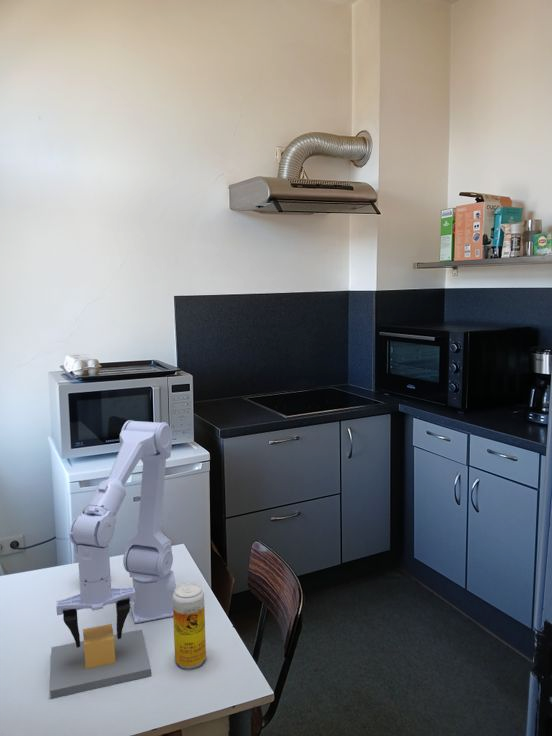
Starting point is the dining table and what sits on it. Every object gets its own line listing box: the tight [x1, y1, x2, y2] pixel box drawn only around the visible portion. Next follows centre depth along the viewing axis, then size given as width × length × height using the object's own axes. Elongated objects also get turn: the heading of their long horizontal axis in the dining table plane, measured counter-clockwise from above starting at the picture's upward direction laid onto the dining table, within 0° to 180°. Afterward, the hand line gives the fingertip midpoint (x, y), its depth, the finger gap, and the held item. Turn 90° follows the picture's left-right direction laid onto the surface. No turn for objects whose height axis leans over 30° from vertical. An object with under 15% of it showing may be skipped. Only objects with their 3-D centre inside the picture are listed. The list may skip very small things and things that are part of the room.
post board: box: [49, 629, 152, 699], centre depth 117 cm, size 18×14×5 cm
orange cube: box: [82, 623, 115, 669], centre depth 117 cm, size 6×6×5 cm
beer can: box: [172, 582, 207, 670], centre depth 117 cm, size 6×6×15 cm
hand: (98, 640), depth 117 cm, fingers open, 7 cm apart
